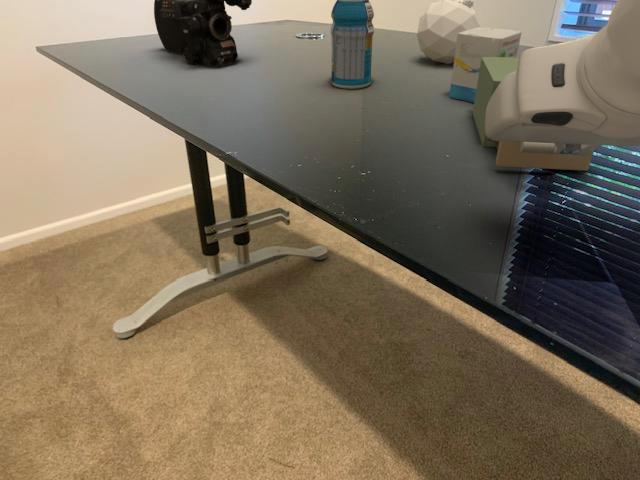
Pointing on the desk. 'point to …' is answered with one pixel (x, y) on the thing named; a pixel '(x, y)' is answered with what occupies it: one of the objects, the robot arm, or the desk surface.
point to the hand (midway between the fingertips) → (567, 147)
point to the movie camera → (198, 29)
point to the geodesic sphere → (445, 28)
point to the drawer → (539, 156)
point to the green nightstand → (490, 88)
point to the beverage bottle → (351, 43)
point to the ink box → (479, 56)
